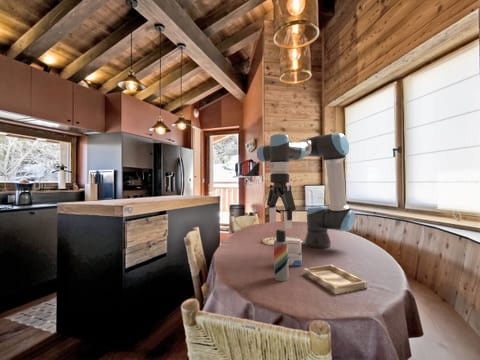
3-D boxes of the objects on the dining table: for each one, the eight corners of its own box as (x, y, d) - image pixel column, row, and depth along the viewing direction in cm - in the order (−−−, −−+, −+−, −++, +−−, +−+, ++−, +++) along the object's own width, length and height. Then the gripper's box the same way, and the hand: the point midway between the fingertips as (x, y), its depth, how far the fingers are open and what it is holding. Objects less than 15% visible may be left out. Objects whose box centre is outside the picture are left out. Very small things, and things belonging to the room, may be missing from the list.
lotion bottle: (273, 276, 106) (272, 228, 106) (286, 275, 106) (285, 228, 106) (276, 282, 100) (275, 231, 100) (290, 281, 101) (289, 230, 100)
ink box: (302, 263, 122) (301, 238, 121) (301, 266, 117) (300, 241, 117) (284, 261, 124) (283, 237, 124) (282, 264, 120) (281, 239, 120)
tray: (303, 274, 108) (303, 268, 108) (331, 269, 112) (331, 264, 112) (335, 294, 89) (335, 287, 89) (367, 288, 93) (367, 281, 93)
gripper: (259, 173, 113) (259, 221, 114) (286, 172, 90) (287, 232, 90) (274, 173, 116) (274, 220, 116) (304, 172, 92) (305, 230, 92)
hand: (280, 225), depth 103 cm, fingers open, 13 cm apart
